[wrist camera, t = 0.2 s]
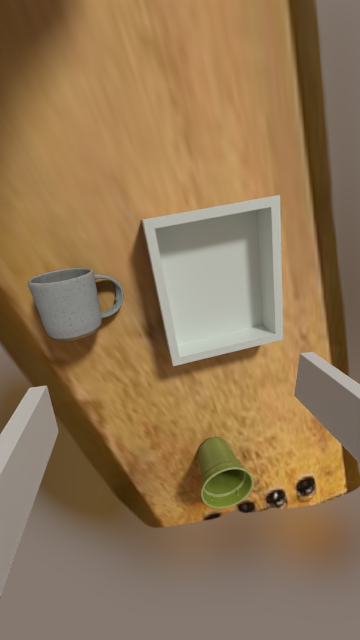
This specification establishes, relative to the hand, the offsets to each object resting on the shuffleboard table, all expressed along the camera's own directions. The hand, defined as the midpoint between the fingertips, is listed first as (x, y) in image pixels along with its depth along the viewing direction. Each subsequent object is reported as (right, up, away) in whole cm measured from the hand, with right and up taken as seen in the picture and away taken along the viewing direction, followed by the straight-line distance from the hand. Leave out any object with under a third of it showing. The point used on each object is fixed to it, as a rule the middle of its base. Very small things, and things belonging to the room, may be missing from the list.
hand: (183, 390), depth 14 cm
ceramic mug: (-14, +8, +24) cm, 29 cm away
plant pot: (+6, -22, +39) cm, 45 cm away
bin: (+5, +10, +26) cm, 29 cm away
